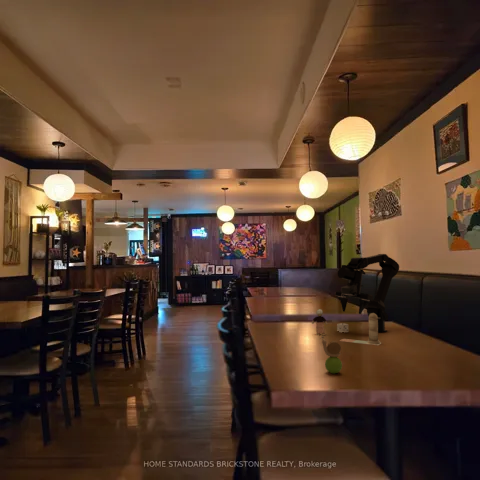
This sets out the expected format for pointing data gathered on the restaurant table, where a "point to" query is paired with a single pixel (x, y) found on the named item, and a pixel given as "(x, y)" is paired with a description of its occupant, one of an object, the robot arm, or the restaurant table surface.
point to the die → (342, 327)
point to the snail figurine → (332, 356)
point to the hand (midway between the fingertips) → (351, 312)
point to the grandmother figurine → (319, 322)
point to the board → (356, 341)
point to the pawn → (373, 329)
